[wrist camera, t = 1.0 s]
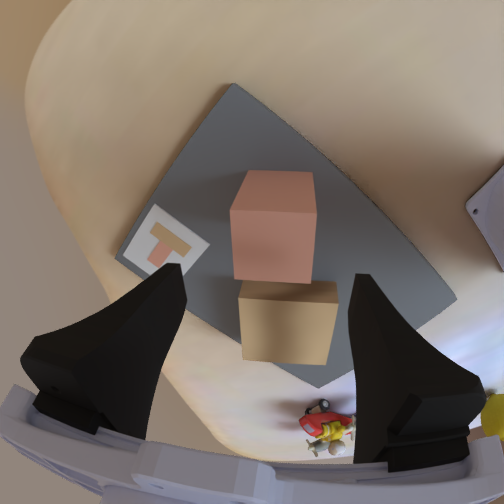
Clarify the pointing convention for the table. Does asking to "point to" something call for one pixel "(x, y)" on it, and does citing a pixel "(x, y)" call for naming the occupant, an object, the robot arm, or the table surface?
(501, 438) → the lemon
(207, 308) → the board
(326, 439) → the toy airplane
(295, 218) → the pillar
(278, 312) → the slab
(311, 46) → the table surface
